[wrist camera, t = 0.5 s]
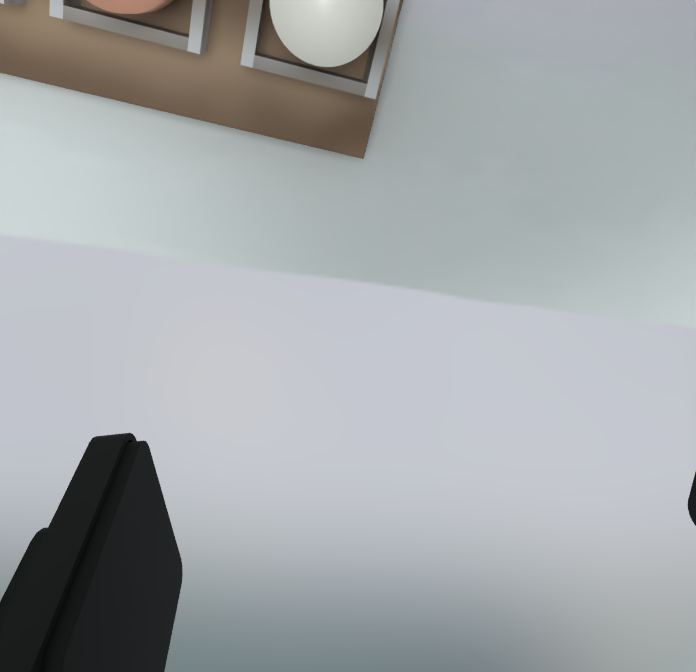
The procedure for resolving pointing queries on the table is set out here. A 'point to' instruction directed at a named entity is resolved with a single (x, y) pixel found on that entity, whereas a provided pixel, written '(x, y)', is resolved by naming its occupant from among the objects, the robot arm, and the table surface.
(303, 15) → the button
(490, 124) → the table surface
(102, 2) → the middle button
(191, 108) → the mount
